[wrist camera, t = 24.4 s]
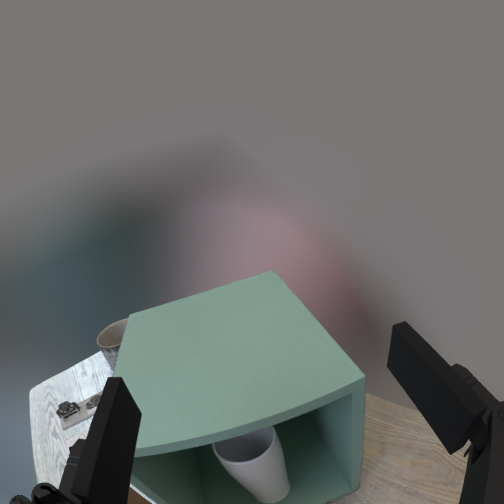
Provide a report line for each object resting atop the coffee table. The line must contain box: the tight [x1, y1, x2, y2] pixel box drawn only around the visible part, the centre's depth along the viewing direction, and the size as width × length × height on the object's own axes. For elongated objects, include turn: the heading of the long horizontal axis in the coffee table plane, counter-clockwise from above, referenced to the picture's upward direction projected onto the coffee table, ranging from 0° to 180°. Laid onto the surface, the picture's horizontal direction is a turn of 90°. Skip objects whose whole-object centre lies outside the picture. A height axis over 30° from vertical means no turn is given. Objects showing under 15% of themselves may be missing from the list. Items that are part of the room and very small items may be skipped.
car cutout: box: [57, 391, 103, 430], centre depth 51 cm, size 15×7×4 cm, turn 129°
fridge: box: [113, 270, 366, 504], centre depth 33 cm, size 24×21×24 cm
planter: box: [97, 318, 129, 371], centre depth 65 cm, size 13×13×10 cm
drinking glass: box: [212, 425, 291, 504], centre depth 27 cm, size 7×7×15 cm
